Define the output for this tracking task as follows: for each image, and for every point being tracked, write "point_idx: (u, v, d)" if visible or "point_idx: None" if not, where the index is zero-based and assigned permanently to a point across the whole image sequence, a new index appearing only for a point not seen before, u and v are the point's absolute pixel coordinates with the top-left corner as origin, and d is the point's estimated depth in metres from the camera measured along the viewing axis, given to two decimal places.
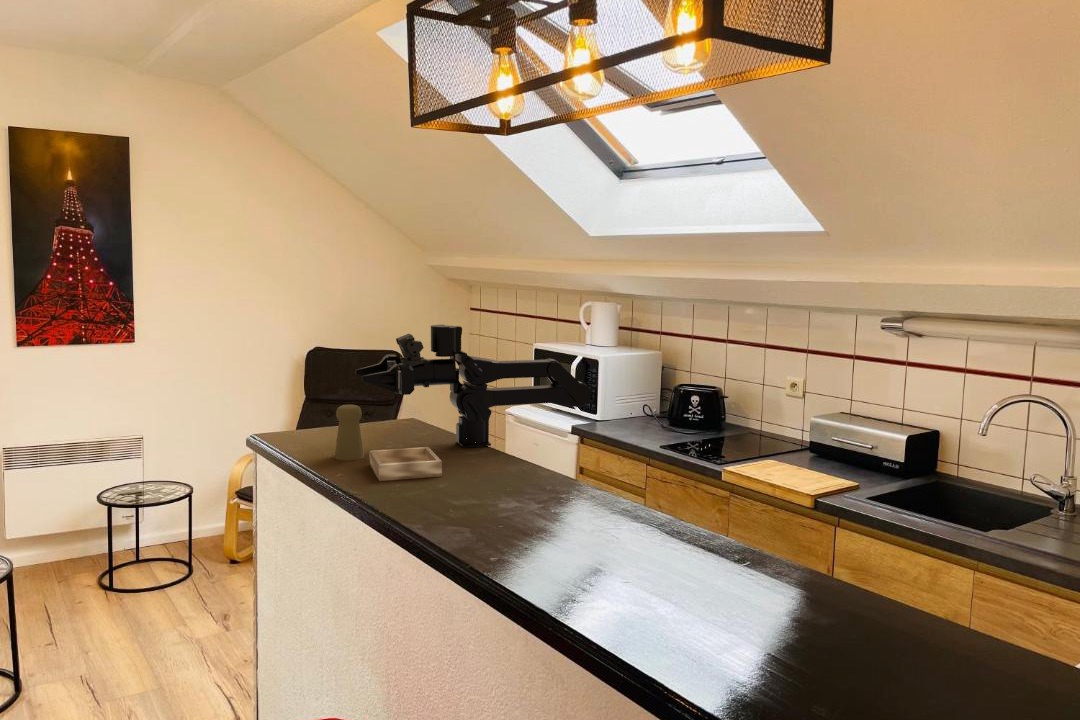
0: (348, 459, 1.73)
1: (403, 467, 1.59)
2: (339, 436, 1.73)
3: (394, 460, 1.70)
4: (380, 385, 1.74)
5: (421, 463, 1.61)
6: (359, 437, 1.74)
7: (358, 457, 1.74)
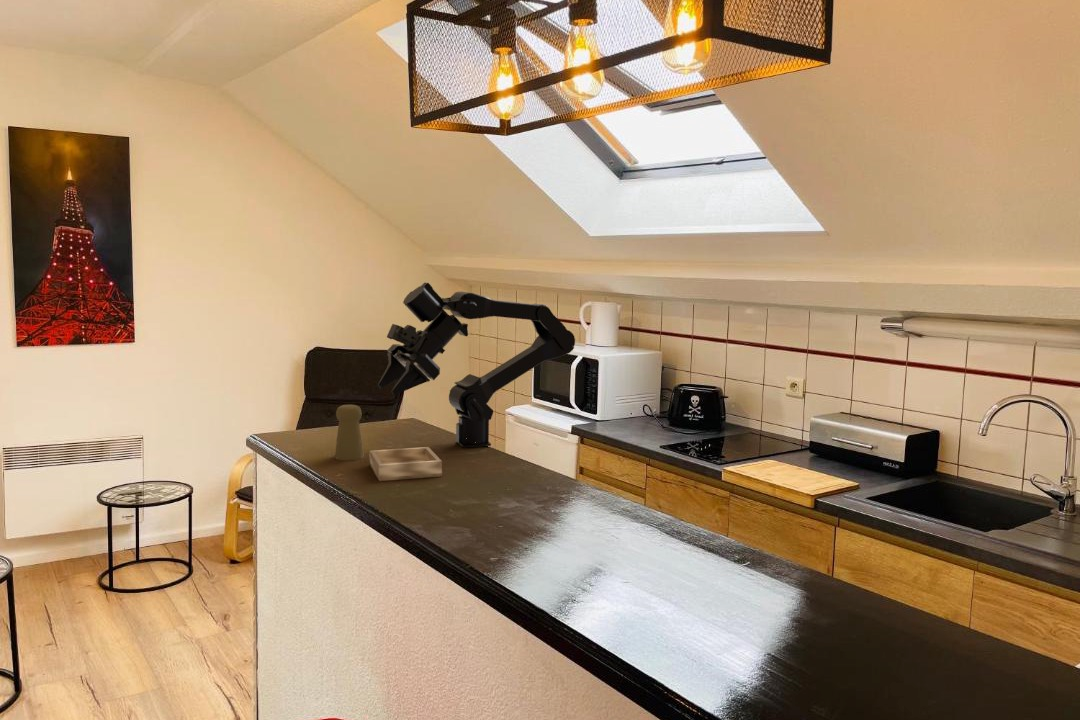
0: (348, 459, 1.73)
1: (403, 467, 1.59)
2: (339, 436, 1.73)
3: (394, 460, 1.70)
4: (411, 386, 1.74)
5: (421, 463, 1.61)
6: (359, 437, 1.74)
7: (358, 457, 1.74)
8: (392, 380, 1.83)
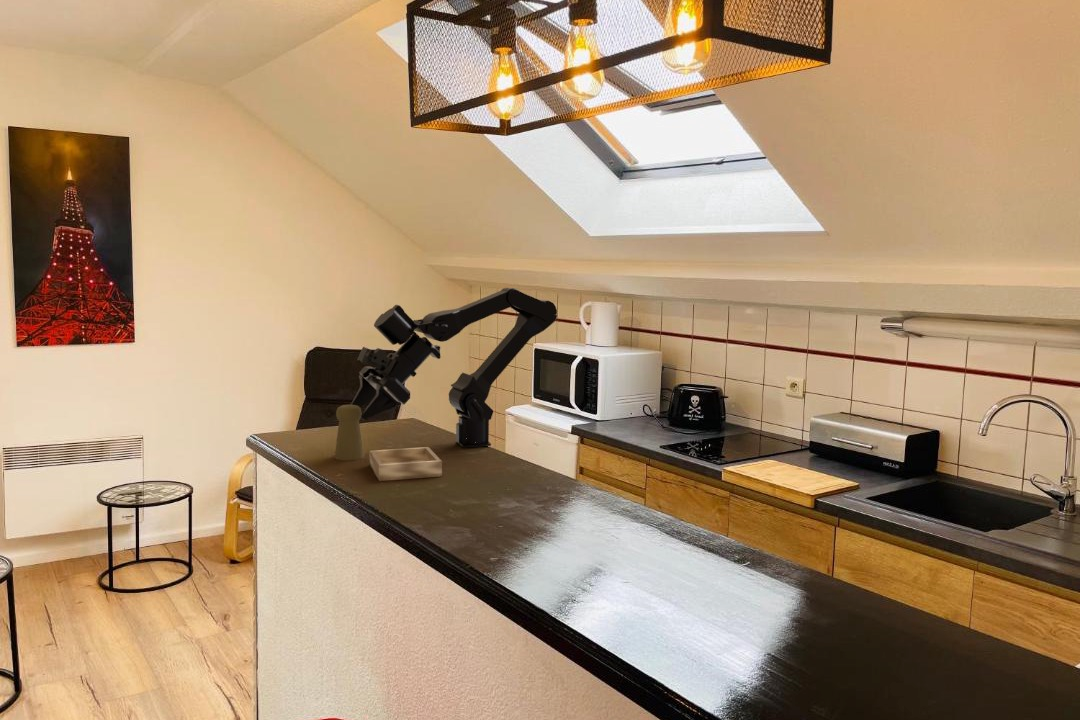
0: (348, 459, 1.73)
1: (403, 467, 1.59)
2: (339, 436, 1.73)
3: (394, 460, 1.70)
4: (381, 410, 1.72)
5: (421, 463, 1.61)
6: (359, 437, 1.74)
7: (358, 457, 1.74)
8: (363, 403, 1.81)
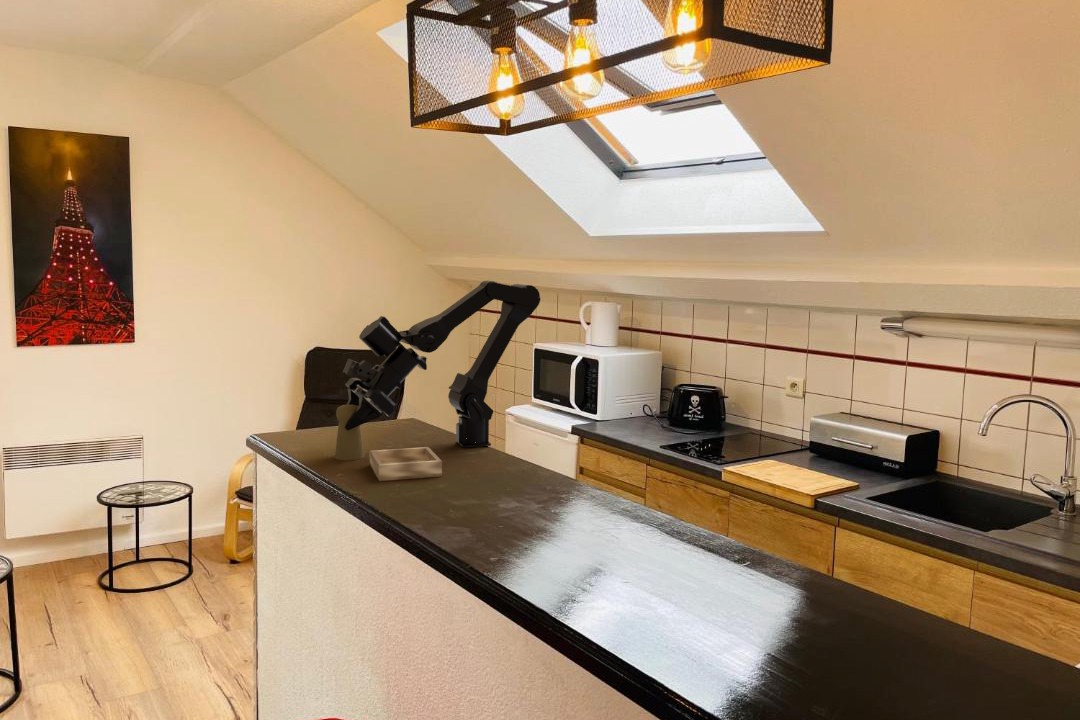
0: (348, 459, 1.73)
1: (403, 467, 1.59)
2: (339, 436, 1.73)
3: (394, 460, 1.70)
4: (364, 421, 1.72)
5: (421, 463, 1.61)
6: (359, 437, 1.74)
7: (358, 457, 1.74)
8: None
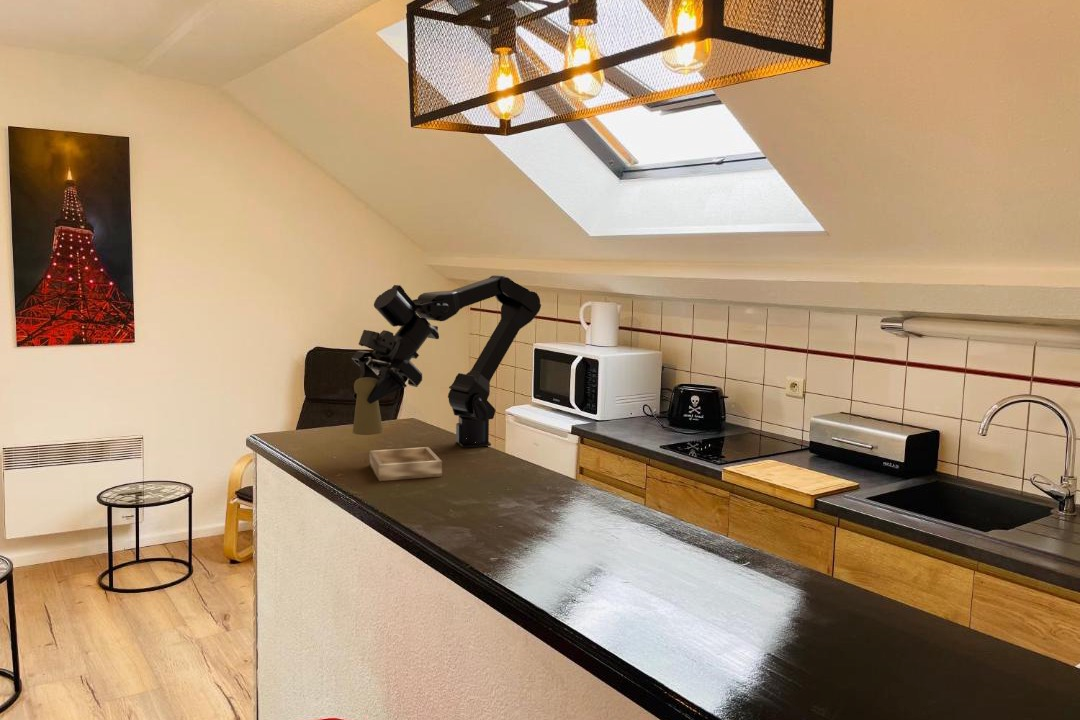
0: (370, 433, 1.67)
1: (403, 467, 1.59)
2: (359, 410, 1.67)
3: (394, 460, 1.70)
4: (387, 393, 1.67)
5: (421, 463, 1.61)
6: (379, 410, 1.69)
7: (379, 431, 1.69)
8: None
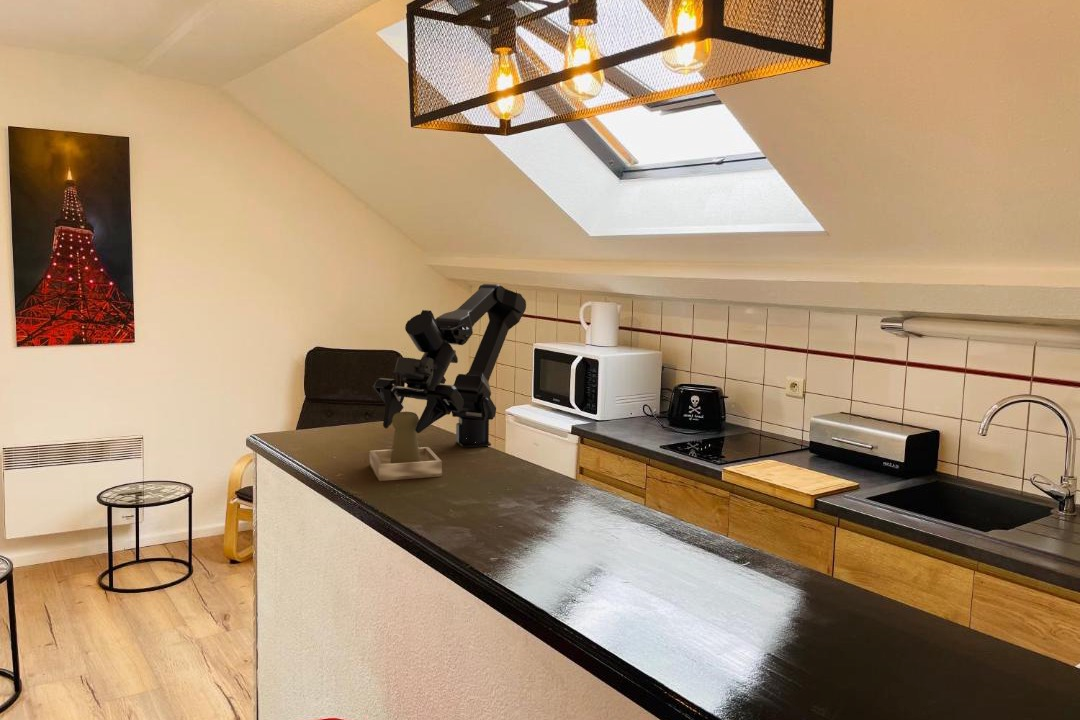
0: None
1: (403, 467, 1.59)
2: (401, 446, 1.63)
3: None
4: (432, 421, 1.64)
5: (421, 463, 1.61)
6: (417, 444, 1.66)
7: None
8: None
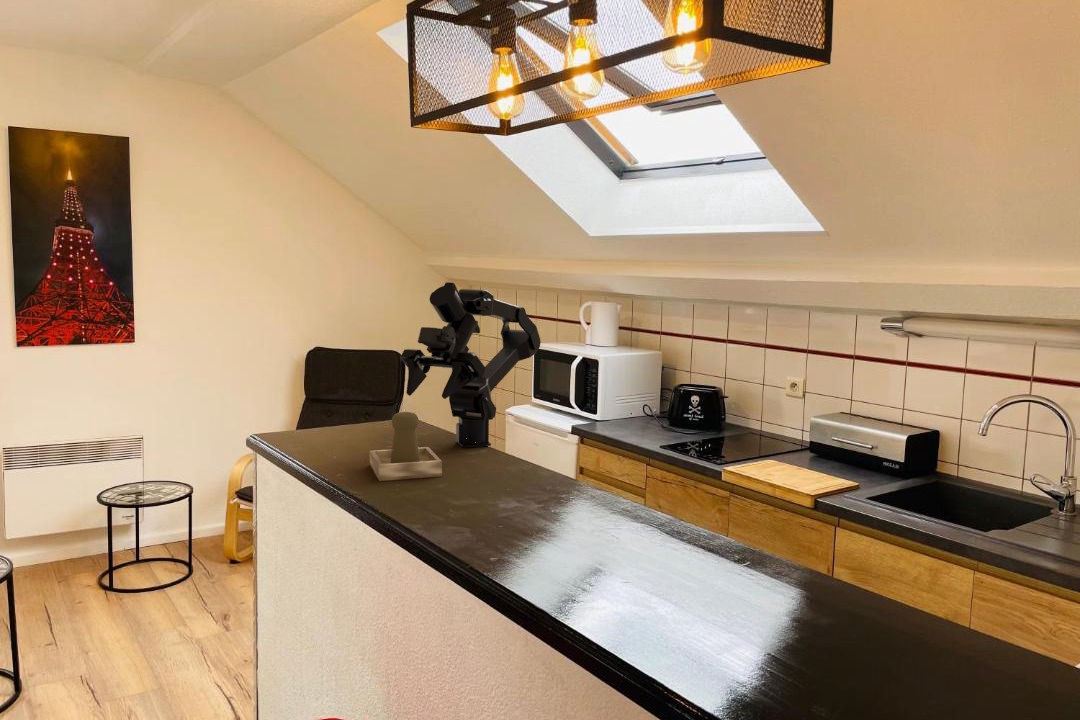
0: None
1: (403, 467, 1.59)
2: (401, 446, 1.63)
3: None
4: (458, 387, 1.71)
5: (421, 463, 1.61)
6: (417, 445, 1.66)
7: None
8: (416, 386, 1.76)
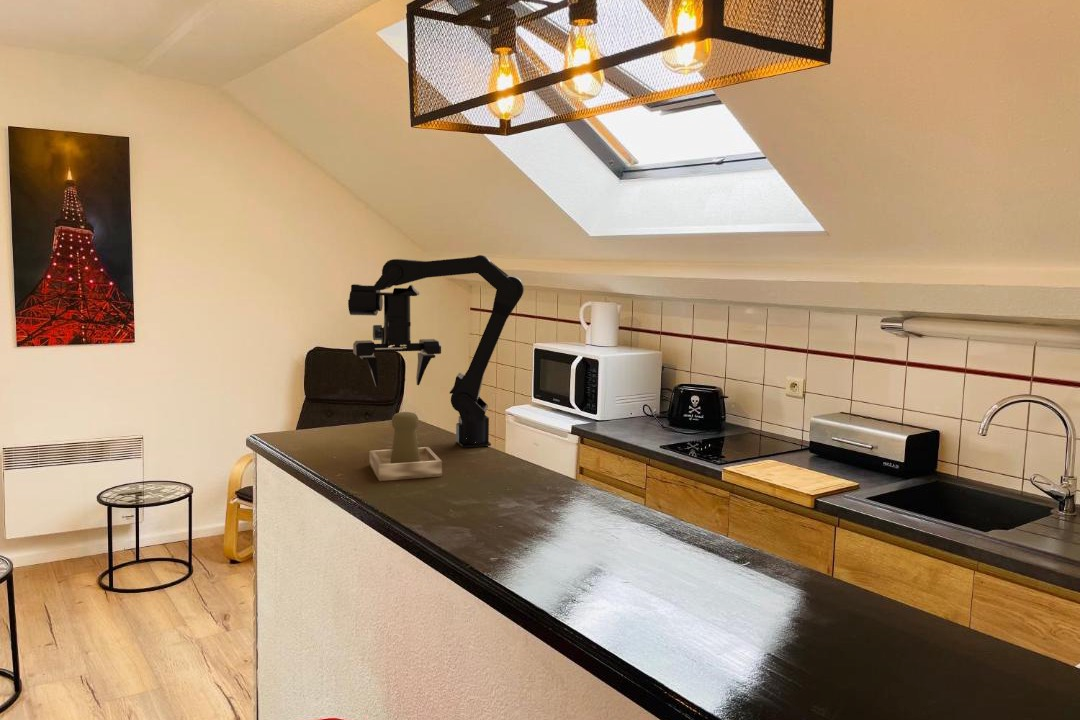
0: None
1: (403, 467, 1.59)
2: (401, 446, 1.63)
3: None
4: (371, 371, 1.84)
5: (421, 463, 1.61)
6: (417, 445, 1.66)
7: None
8: (418, 372, 1.88)
